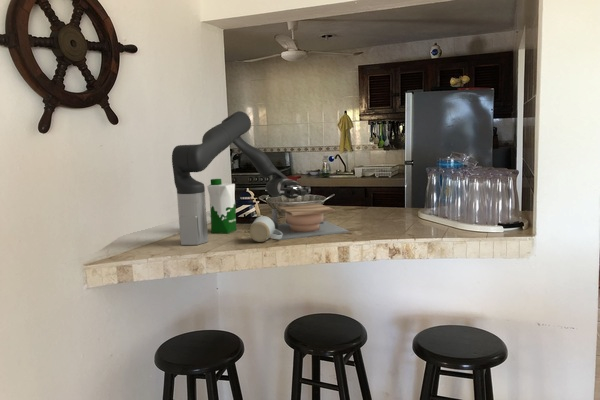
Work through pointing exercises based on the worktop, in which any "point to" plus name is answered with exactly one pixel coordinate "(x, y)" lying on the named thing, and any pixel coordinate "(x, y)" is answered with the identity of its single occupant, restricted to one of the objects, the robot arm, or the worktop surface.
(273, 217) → the hinge posts
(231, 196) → the milk carton
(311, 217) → the terracotta bowl
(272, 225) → the ceramic mug
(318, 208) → the cover sheet
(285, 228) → the slate mat
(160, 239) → the worktop surface
